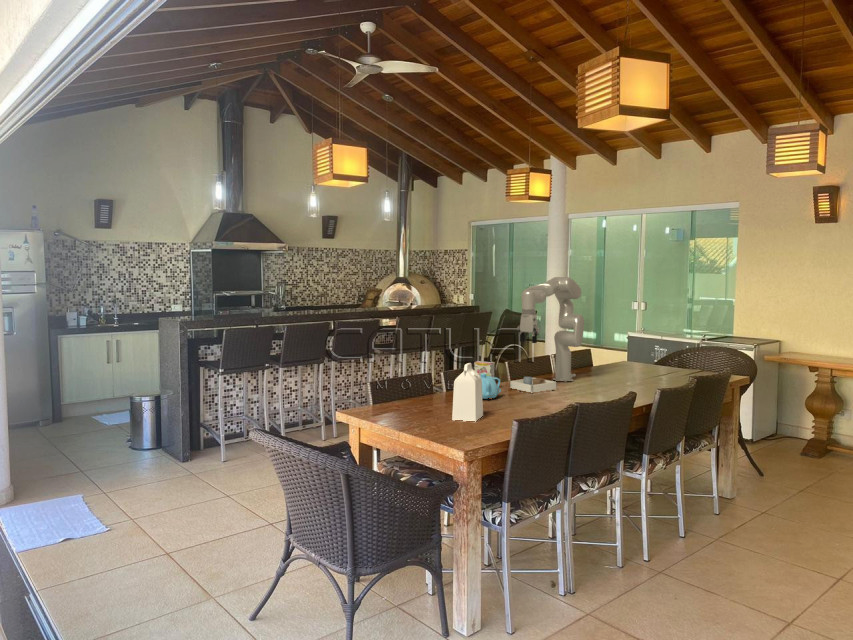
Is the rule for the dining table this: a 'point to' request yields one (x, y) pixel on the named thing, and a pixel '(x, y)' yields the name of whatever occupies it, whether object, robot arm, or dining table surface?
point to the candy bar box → (484, 368)
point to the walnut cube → (538, 381)
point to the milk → (467, 396)
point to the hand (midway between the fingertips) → (528, 342)
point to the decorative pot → (489, 386)
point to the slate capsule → (528, 380)
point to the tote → (533, 386)
